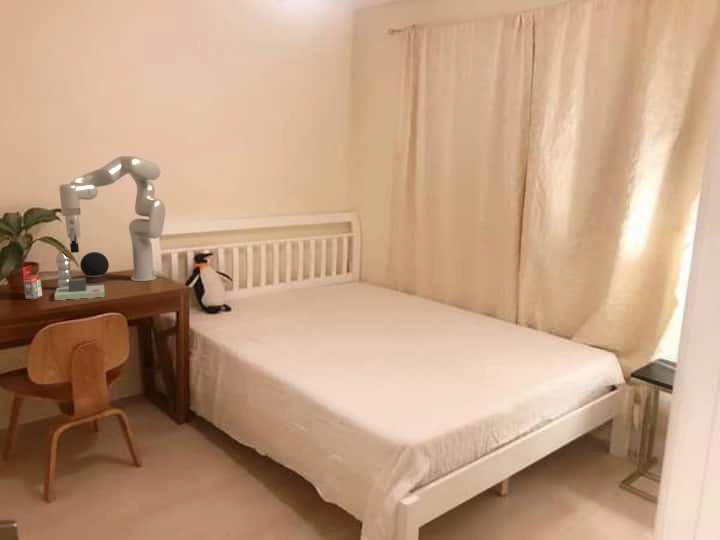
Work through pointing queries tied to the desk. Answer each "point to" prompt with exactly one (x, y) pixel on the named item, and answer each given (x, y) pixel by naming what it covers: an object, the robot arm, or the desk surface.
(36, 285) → the ink box
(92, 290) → the pale green book
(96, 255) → the round black speaker
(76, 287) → the plug
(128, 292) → the desk surface
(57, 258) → the plastic bottle
